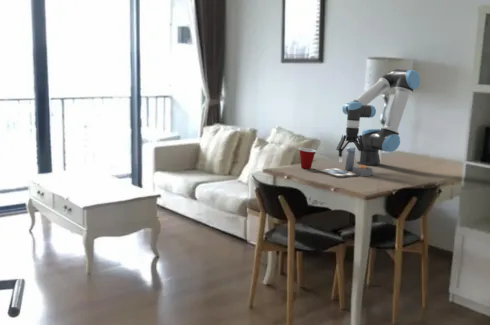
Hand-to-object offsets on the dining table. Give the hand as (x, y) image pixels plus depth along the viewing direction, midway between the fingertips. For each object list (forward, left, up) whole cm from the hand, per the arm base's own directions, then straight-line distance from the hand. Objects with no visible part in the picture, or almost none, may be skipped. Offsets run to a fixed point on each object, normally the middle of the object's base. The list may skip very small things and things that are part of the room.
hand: (349, 161), depth 339 cm
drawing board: (+15, +7, -5) cm, 17 cm away
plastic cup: (+23, -13, -6) cm, 27 cm away
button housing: (+1, +13, -5) cm, 14 cm away
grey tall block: (0, 0, -5) cm, 5 cm away
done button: (+1, +13, -2) cm, 13 cm away
